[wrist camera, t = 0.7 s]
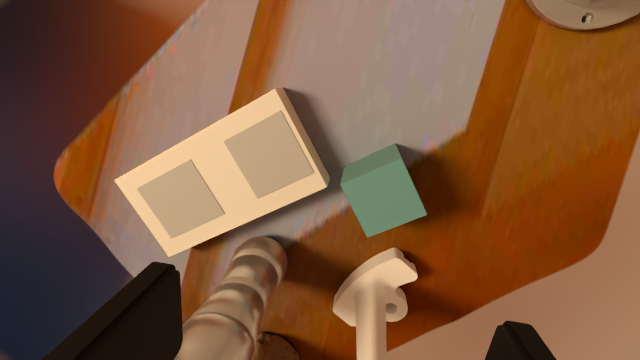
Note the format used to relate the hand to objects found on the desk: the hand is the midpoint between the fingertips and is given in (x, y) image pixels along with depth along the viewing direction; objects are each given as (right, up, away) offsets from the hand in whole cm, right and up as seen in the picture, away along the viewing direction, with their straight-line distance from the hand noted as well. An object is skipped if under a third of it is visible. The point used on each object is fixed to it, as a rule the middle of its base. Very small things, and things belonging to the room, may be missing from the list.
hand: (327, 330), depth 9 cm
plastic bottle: (-7, -5, +30) cm, 31 cm away
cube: (+7, +5, +25) cm, 26 cm away
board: (-11, +5, +27) cm, 30 cm away
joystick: (+7, -9, +30) cm, 32 cm away
